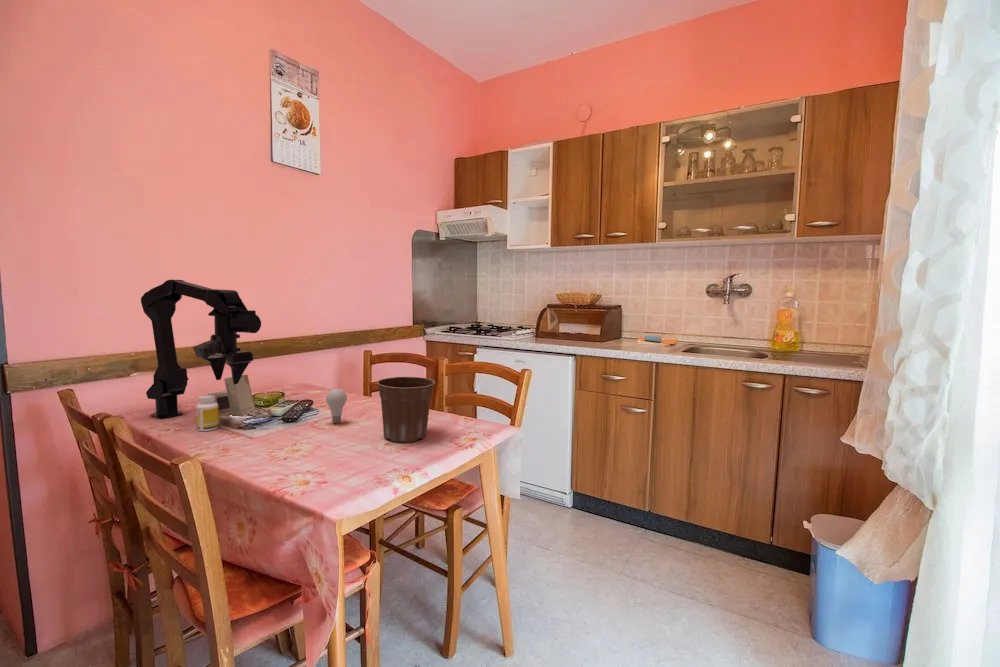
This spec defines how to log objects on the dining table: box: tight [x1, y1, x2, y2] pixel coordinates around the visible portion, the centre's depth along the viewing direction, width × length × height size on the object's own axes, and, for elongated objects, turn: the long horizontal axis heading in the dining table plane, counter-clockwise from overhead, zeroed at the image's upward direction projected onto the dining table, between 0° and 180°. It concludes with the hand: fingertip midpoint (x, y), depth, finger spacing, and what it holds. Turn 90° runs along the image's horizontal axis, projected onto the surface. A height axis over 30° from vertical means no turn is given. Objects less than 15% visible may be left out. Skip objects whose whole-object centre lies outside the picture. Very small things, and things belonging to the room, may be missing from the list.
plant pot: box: [376, 376, 436, 443], centre depth 129 cm, size 16×16×16 cm
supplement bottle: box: [196, 394, 220, 432], centre depth 131 cm, size 5×5×10 cm
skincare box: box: [223, 374, 257, 416], centre depth 138 cm, size 6×4×12 cm
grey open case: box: [196, 389, 272, 429], centre depth 142 cm, size 23×11×8 cm, turn 60°
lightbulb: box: [325, 388, 348, 424], centre depth 139 cm, size 6×6×11 cm
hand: (226, 381), depth 137 cm, fingers open, 9 cm apart
